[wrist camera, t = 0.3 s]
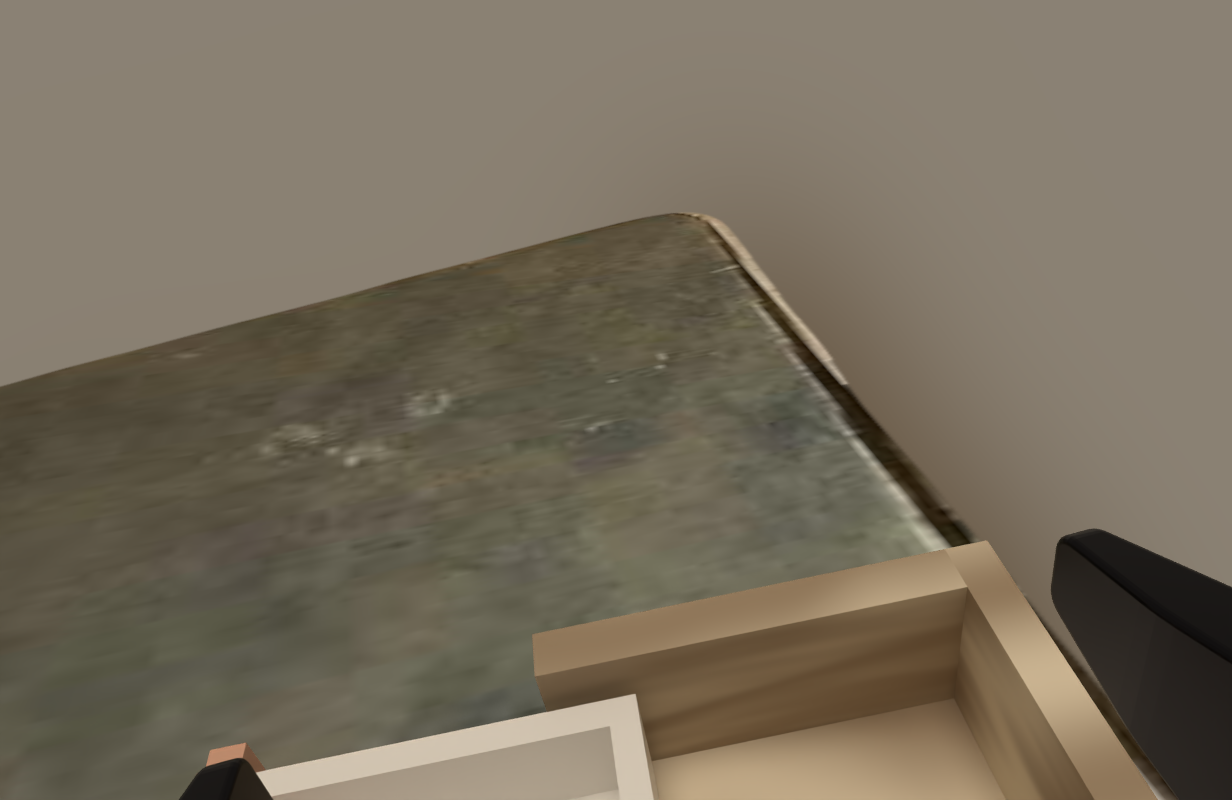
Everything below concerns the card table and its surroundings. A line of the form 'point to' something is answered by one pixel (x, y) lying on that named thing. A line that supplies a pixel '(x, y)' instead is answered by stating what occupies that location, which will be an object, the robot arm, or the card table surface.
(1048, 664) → the brown open rectangular box
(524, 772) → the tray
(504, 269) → the card table surface
